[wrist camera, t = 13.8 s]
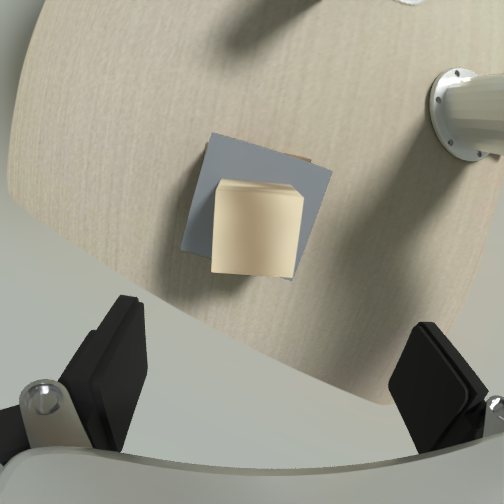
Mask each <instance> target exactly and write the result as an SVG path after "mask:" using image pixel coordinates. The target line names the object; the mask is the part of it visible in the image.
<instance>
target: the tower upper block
mask: <svg viewBox="0 0 504 504" xmlns="http://www.w3.org/2000/svg"><path fill="white" fill-rule="evenodd" d="M332 172H333V171H331V170H328V169H326V168H323V167H320V166H318V165H315V164H312V163H309V162H307V161H304V160H301V159H298V158H295V157H292V156H289V155H286V154H283V153H280V152H277V151H274V150H271V149H268V148H264V147H261V146H258V145H255V144H251V143H248V142H245V141H241V140H238V139H235V138H231V137H227V136H224V135H220V134H217V133H212V134H211V137H210V141H209V144H208V147H207V151H206V154H205V157H204V161H203V164H202V168H201V171H200V175H199V178H198V182H197V185H196V189H195V193H194V196H193V200H192V204H191V208H190V211H189V215H188V219H187V223H186V227H185V231H184V235H183V239H182V243H181V247H180V250H182V251H185V252H189V253H193V254H196V255H200V256H203V257H207V258H210V259H212V246H213V228H214V211H215V195H216V189H217V187H218V184H219V182H220V180H221V179H231V180H244V181H256V182H267V183H278V184H288V185H292V186H293V187H294V188H295V189H296V190H297V191H298V192H299V193H300V194H301V195H302V196H303V197H304V202H303V210H302V217H301V225H300V232H299V239H298V246H297V253H296V260H295V266H294V273H293V277H294V274H295V272H296V269H297V267H298V264H299V262H300V259H301V256H302V254H303V251H304V249H305V246H306V243H307V241H308V238H309V235H310V233H311V230H312V227H313V225H314V222H315V219H316V216H317V214H318V211H319V208H320V206H321V203H322V200H323V197H324V194H325V192H326V189H327V186H328V183H329V180H330V177H331V175H332ZM280 278H283V279H287V280H291V281H292V279H293V278H288V277H280Z"/></svg>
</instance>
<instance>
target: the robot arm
mask: <svg viewBox="0 0 504 504" xmlns="http://www.w3.org/2000/svg"><path fill="white" fill-rule="evenodd" d="M429 107H430V116H431V121H432V124H433V128H434V130H435V132H436V135H437V137H438V139H439V140H440V142H441V143H442V145H443V146H444V147H445V148H446V149H447V151H448V152H450V153H451V154H452V155H453V156H455V157H457V158H459V159H462V160H466V161H478V160H481V159H483V158H485V157H486V156H487V155H488V154H489V153H493V154H498V155H504V73H501V74H492V75H483V76H479V75H478V74H476V73H475V72H473V71H471V70H469V69H466V68H461V67H458V68H451V69H448V70H446V71H444V72H442V73H441V74H440V75H439V76H438V77H437V78H436V80H435V82H434V84H433V86H432V89H431V93H430V100H429ZM147 369H148V365H147V352H146V338H145V320H144V304H143V303H142V302H139V301H138V298H137V297H132V296H125V295H120V296H119V297H118V299H117V300H116V302H115V303H114V305H113V306H112V307H111V309H110V311H109V312H108V313H107V315H106V316H105V318H104V319H103V321H102V322H101V324H100V326H99V327H98V328H97V330H91V331H90V332H89V333H88V335H87V336H86V338H85V339H84V341H83V342H82V344H81V345H80V347H79V348H78V350H77V352H76V353H75V355H74V356H73V358H72V359H71V361H70V362H69V364H68V365H67V367H66V369H65V370H64V372H63V373H62V375H61V377H60V378H59V380H58V381H54V380H48V379H42V380H37V381H34V382H31V383H30V384H29V385H27V386H26V387H25V388H24V389H23V390H22V392H21V394H20V397H19V405H16V406H13V407H9V408H6V409H2V410H0V504H504V397H501V396H492V397H490V398H489V399H488V400H487V401H486V402H485V400H484V398H485V396H486V395H487V393H488V392H489V391H488V389H487V388H486V387H485V385H484V384H483V383H482V381H481V380H480V379H479V377H478V376H477V375H476V373H475V372H474V371H473V370H472V368H471V367H470V366H469V364H468V363H467V362H466V361H465V359H464V358H463V357H462V356H461V354H460V353H459V352H458V351H457V349H456V348H455V347H454V346H453V345H452V343H451V342H450V341H449V340H448V338H447V337H446V336H445V335H444V334H443V332H442V331H441V330H440V329H439V328H438V327H437V325H436V324H435V323H434V322H419V323H418V324H417V325H416V326H414V327H413V329H412V331H411V334H410V336H409V338H408V341H407V343H406V345H405V348H404V350H403V352H402V354H401V357H400V359H399V361H398V363H397V365H396V367H395V369H394V372H393V374H392V376H391V378H390V380H389V383H388V388H389V391H390V393H391V395H392V397H393V399H394V401H395V403H396V405H397V407H398V410H399V412H400V414H401V416H402V418H403V420H404V422H405V425H406V427H407V429H408V431H409V433H410V436H411V438H412V440H413V442H414V444H415V447H416V449H417V451H418V453H419V454H418V455H414V456H408V457H403V458H397V459H392V460H386V461H379V462H373V463H365V464H356V465H347V466H337V467H323V468H302V469H251V468H231V467H218V466H208V465H198V464H189V463H181V462H174V461H167V460H160V459H154V458H148V457H142V456H137V455H130V454H124V453H120V452H121V451H122V448H123V445H124V441H125V439H126V435H127V432H128V429H129V426H130V423H131V419H132V417H133V414H134V411H135V407H136V405H137V402H138V399H139V396H140V393H141V390H142V387H143V384H144V381H145V378H146V375H147Z"/></svg>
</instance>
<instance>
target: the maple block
mask: <svg viewBox="0 0 504 504" xmlns="http://www.w3.org/2000/svg"><path fill="white" fill-rule="evenodd" d="M303 202H304V197H303V196H302V195H301V194H300V193H299V192H298V191H297V190H296V189H295V188H294V187H293V186H292V185H288V184H278V183H267V182H256V181H244V180H231V179H221V180H220V182H219V184H218V187H217V189H216V195H215V211H214V228H213V246H212V267H211V272H214V273H228V274H242V275H257V276H272V277H288V278H293V273H294V266H295V260H296V253H297V246H298V239H299V232H300V225H301V217H302V210H303Z"/></svg>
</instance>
